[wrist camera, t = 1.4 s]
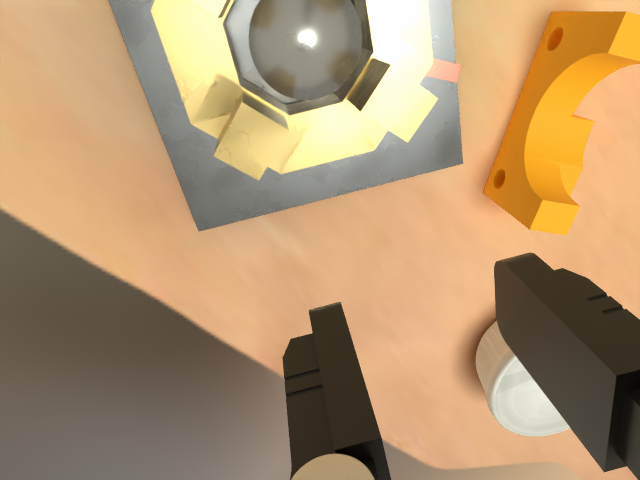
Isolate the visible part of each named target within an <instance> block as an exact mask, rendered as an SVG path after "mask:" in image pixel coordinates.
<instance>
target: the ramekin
mask: <svg viewBox="0 0 640 480" xmlns="http://www.w3.org/2000/svg"><path fill="white" fill-rule="evenodd" d="M476 370H477V373H478V376H479V379H480V381H481V384H482V386H483V389H484V392H485V394H486V399H487V403H488V407H489V409H490V411H491V413H492V415H493V416H494V417H495V419H496V420H497V422H498V423H499V424H500V425H501V426H502V427H504V428H505V429H507V430H509V431H511V432H513V433H516V434H519V435H524V436H547V435H551V434H555V433H559V432H562V431H565V430H568V429H570V427H569V425H568V424H567V423H566V421H565V420H564V419H563V417H562V416H561V415H560V414H559V412H558V411H557V410H556V408H555V407H554V406H553V404H552V403H551V402H550V400H549V399H548V398H547V396H546V395H545V394H544V393H543V391H542V390H541V389H540V387H539V386H538V385H537V383H536V382H535V381H534V379H533V378H532V377H531V375H530V374H529V373H528V372H527V370H526V369H525V368H524V366H523V365H522V364H521V362H520V361H519V360H518V358H517V357H516V356H515V354H514V353H513V352H512V351H511V349H510V348H509V347H508V345H507V344H506V342H505V341H504V339H503V337H502V335H501V333H500V330H499V327H498V324H497V320H496V321H495V322H494V323H493V324H492V325H491V326H490V327H489V328H488V329H487V331H486V332H485V333H484V335H483V336H482V338H481V340H480V342H479V345H478V348H477V351H476Z"/></svg>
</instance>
